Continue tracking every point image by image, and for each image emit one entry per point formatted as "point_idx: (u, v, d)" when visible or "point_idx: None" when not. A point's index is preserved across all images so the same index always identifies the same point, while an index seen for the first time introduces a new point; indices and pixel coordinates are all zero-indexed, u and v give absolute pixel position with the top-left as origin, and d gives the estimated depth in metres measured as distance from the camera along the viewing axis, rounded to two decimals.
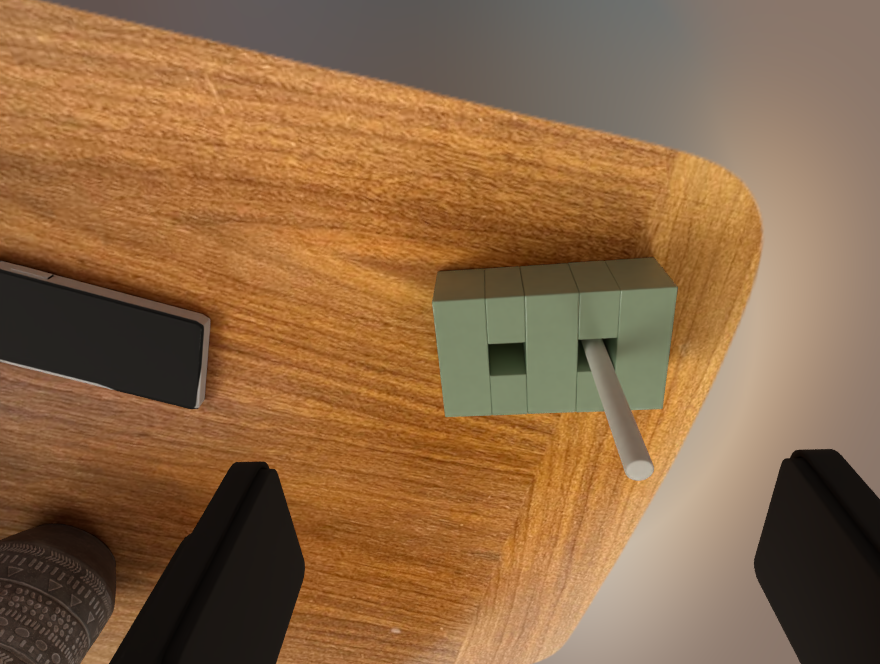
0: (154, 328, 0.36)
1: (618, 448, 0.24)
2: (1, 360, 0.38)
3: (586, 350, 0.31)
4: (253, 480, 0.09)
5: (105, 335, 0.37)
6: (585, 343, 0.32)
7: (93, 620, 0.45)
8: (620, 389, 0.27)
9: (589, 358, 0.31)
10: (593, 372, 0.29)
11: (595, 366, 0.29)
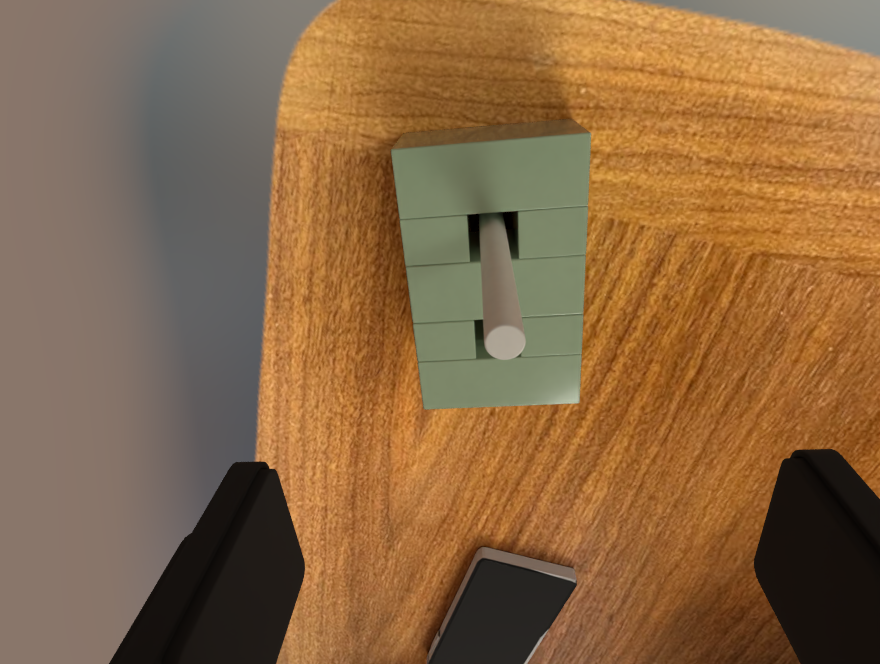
0: (484, 589, 0.40)
1: None
2: None
3: None
4: (253, 480, 0.09)
5: (490, 620, 0.42)
6: None
7: None
8: (484, 264, 0.20)
9: None
10: None
11: None
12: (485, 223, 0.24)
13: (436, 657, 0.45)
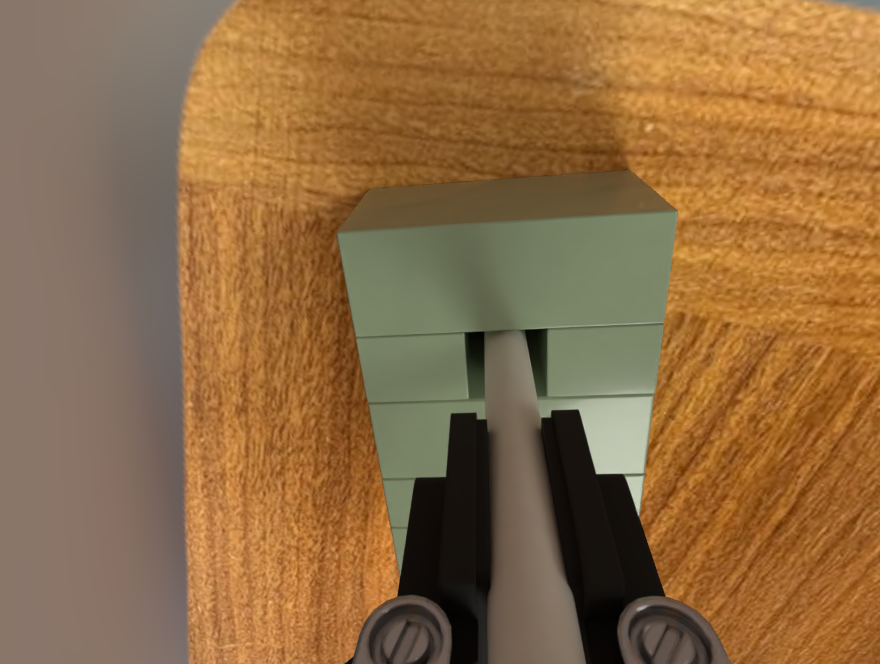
0: None
1: None
2: None
3: None
4: (477, 427, 0.10)
5: None
6: None
7: None
8: (491, 429, 0.11)
9: None
10: None
11: None
12: None
13: None
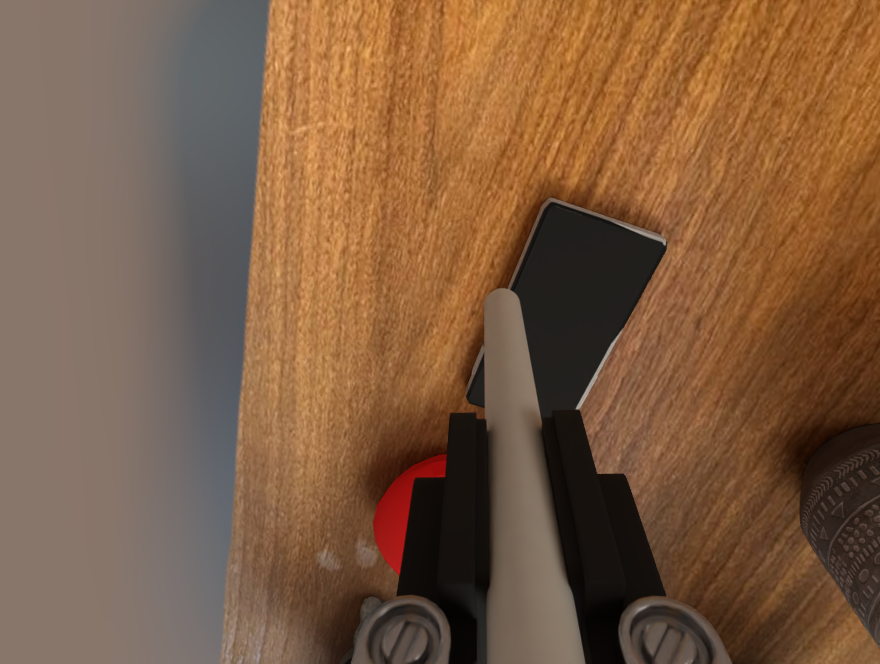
0: (548, 259, 0.32)
1: None
2: None
3: None
4: (476, 427, 0.10)
5: (552, 314, 0.34)
6: None
7: None
8: (491, 427, 0.11)
9: None
10: None
11: None
12: (493, 329, 0.15)
13: (479, 379, 0.37)
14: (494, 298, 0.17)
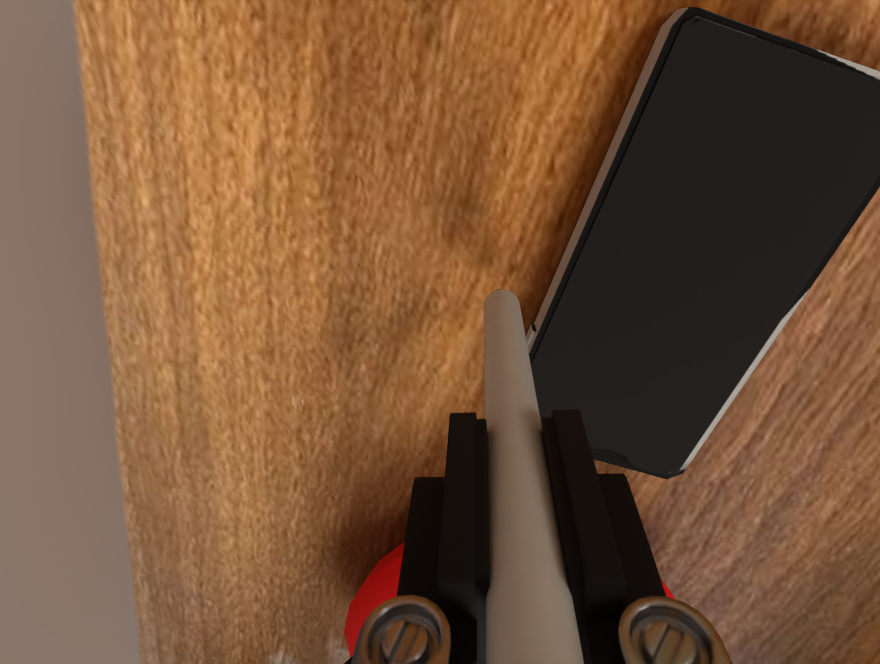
0: (673, 145, 0.16)
1: None
2: (684, 465, 0.21)
3: None
4: (476, 427, 0.10)
5: (670, 264, 0.17)
6: None
7: None
8: (490, 429, 0.11)
9: None
10: None
11: None
12: (493, 330, 0.15)
13: None
14: (494, 299, 0.17)
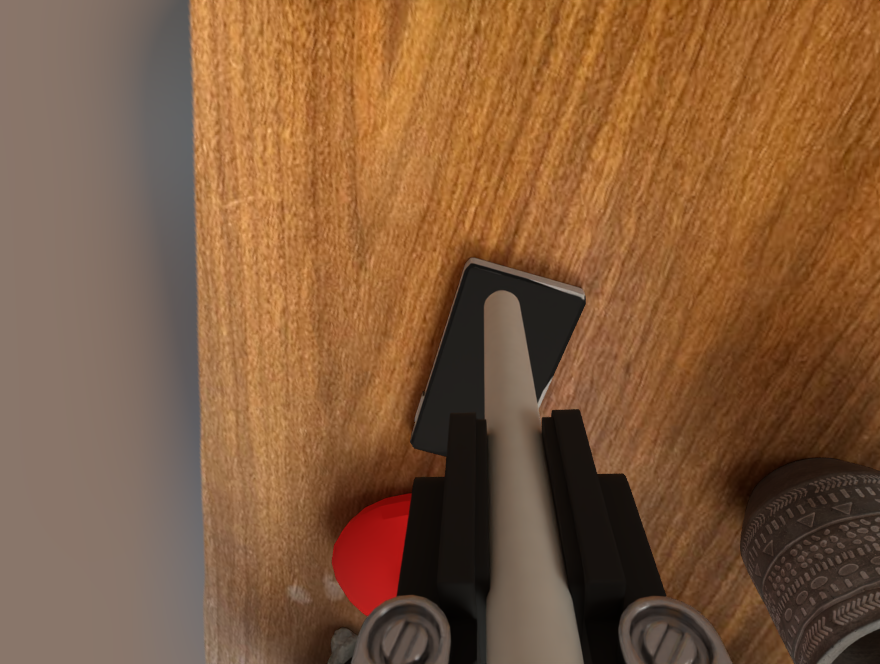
0: (474, 315, 0.34)
1: None
2: None
3: None
4: (476, 428, 0.10)
5: (483, 365, 0.35)
6: None
7: None
8: (491, 431, 0.11)
9: None
10: None
11: None
12: (493, 331, 0.15)
13: (421, 426, 0.38)
14: (494, 300, 0.17)
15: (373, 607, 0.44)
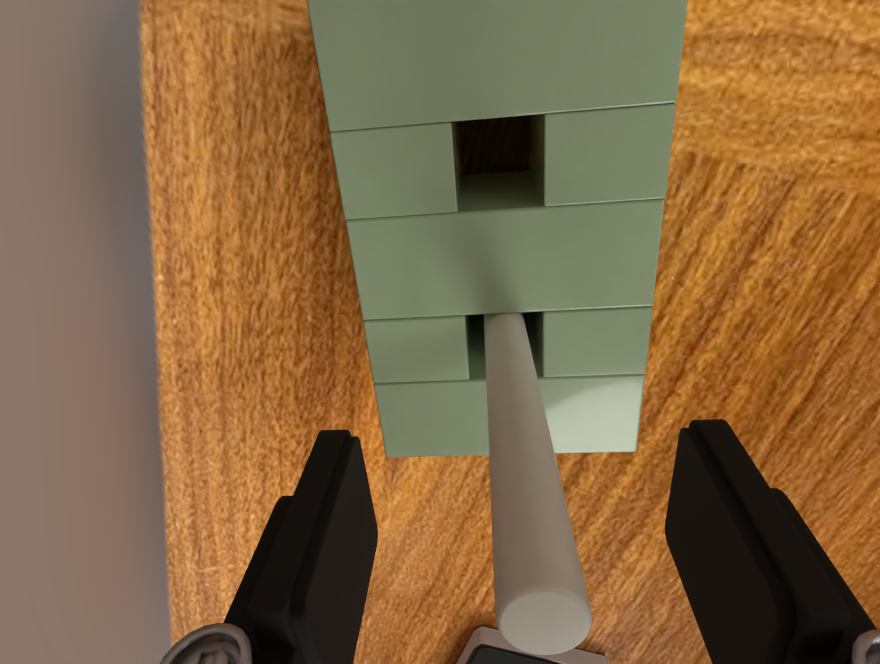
0: None
1: None
2: None
3: None
4: (342, 445, 0.10)
5: None
6: None
7: None
8: (492, 391, 0.12)
9: None
10: None
11: None
12: None
13: None
14: None
15: None
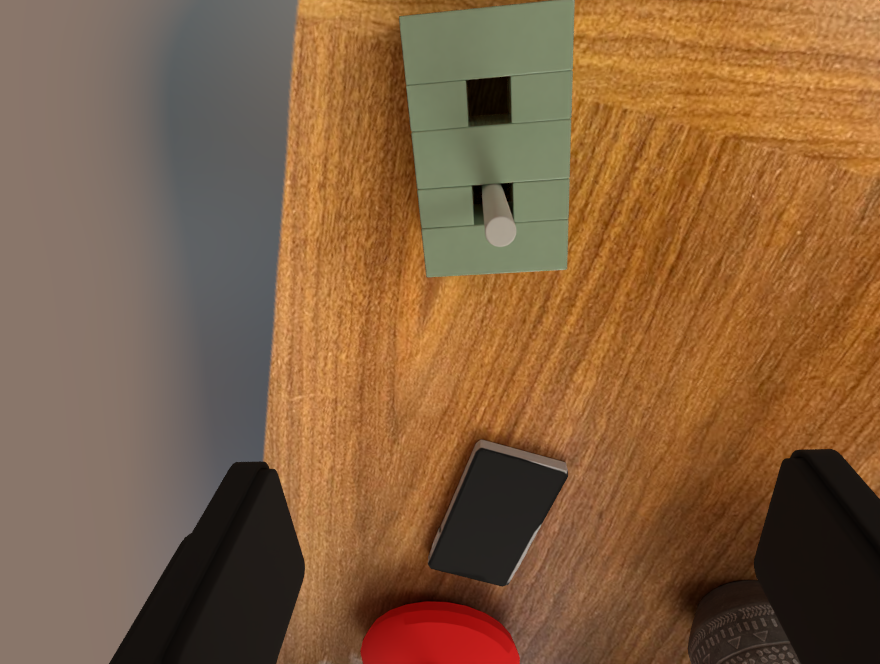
0: (482, 481, 0.44)
1: None
2: (508, 581, 0.49)
3: None
4: (253, 480, 0.09)
5: (488, 514, 0.45)
6: None
7: None
8: (485, 201, 0.25)
9: None
10: None
11: None
12: (486, 185, 0.29)
13: (437, 553, 0.48)
14: None
15: None
